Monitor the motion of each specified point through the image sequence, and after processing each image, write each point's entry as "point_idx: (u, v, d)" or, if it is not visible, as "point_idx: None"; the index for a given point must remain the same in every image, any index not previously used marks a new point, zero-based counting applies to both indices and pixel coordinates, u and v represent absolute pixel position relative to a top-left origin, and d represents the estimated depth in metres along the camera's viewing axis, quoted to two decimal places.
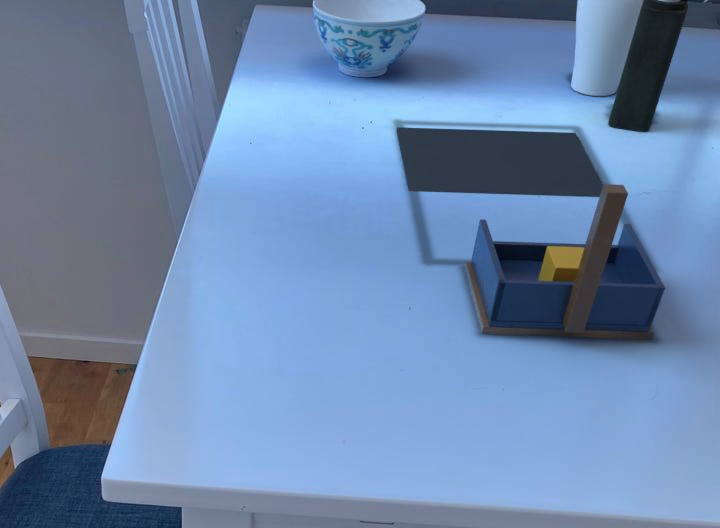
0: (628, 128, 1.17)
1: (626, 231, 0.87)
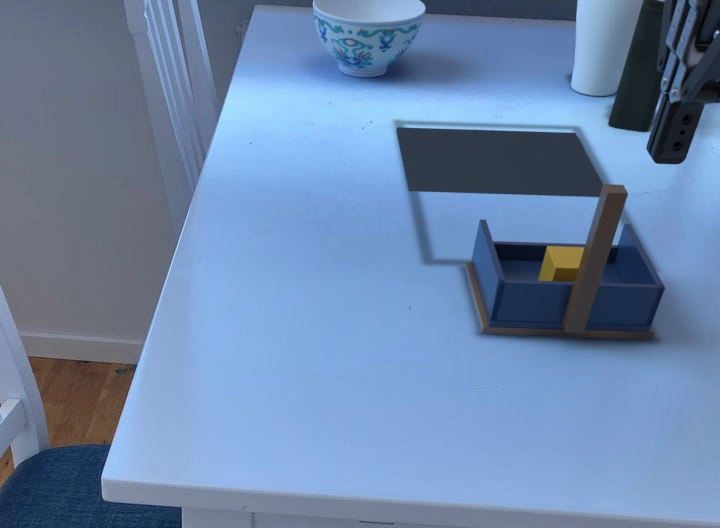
0: (628, 128, 1.17)
1: (626, 231, 0.87)
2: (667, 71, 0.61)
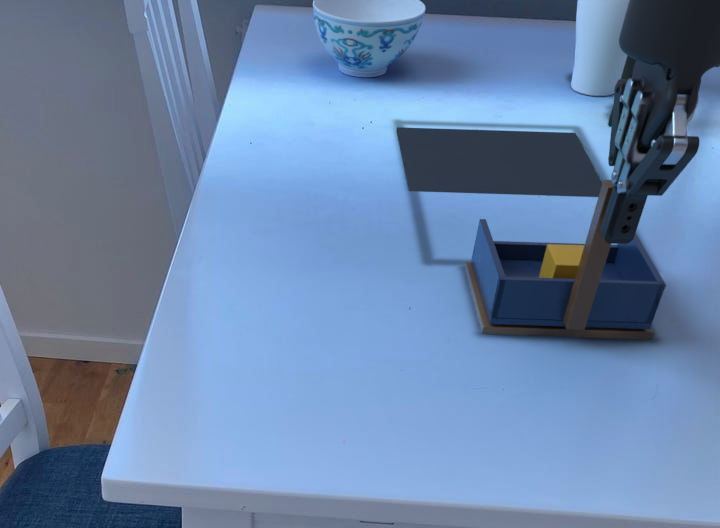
0: None
1: None
2: (616, 167, 0.69)
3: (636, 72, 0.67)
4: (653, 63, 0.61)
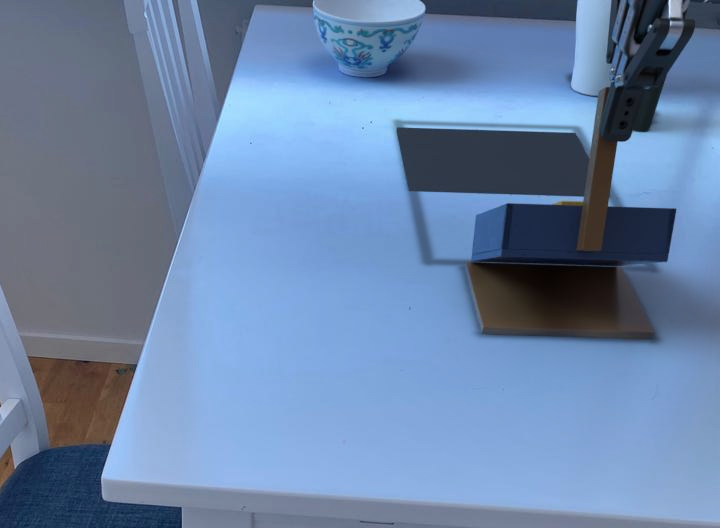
0: None
1: None
2: (614, 62, 0.71)
3: None
4: None
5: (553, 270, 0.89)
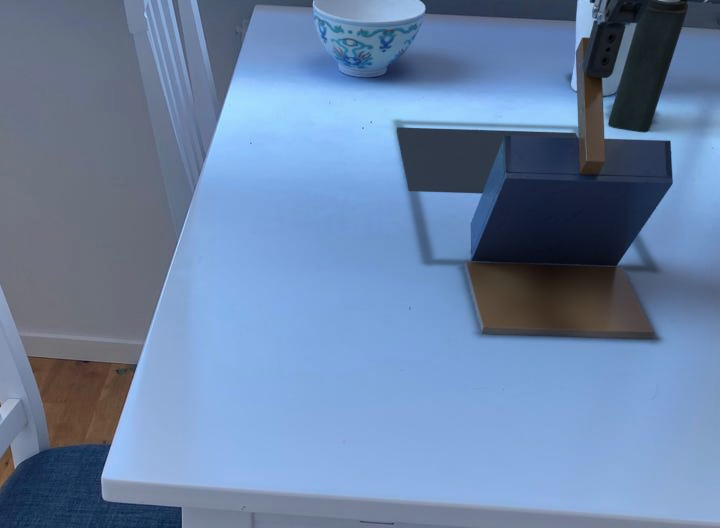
0: (628, 128, 1.17)
1: None
2: (596, 1, 0.75)
3: None
4: None
5: (553, 270, 0.89)
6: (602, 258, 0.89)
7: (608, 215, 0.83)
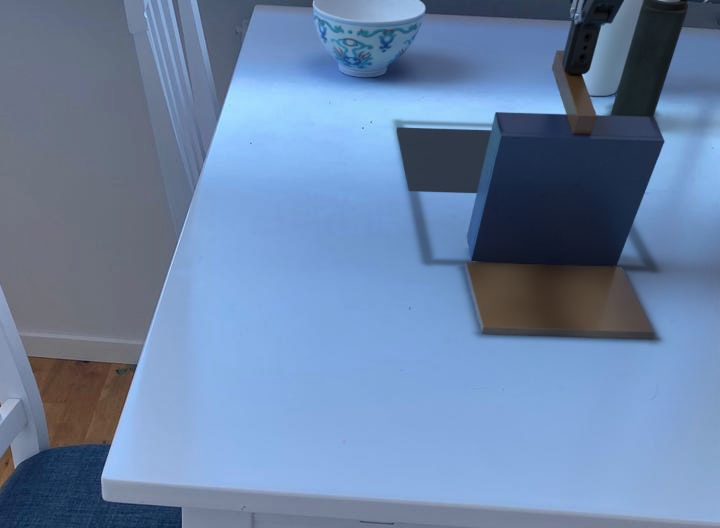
0: None
1: None
2: (574, 2, 0.81)
3: None
4: None
5: (553, 270, 0.89)
6: (601, 254, 0.89)
7: (604, 189, 0.84)
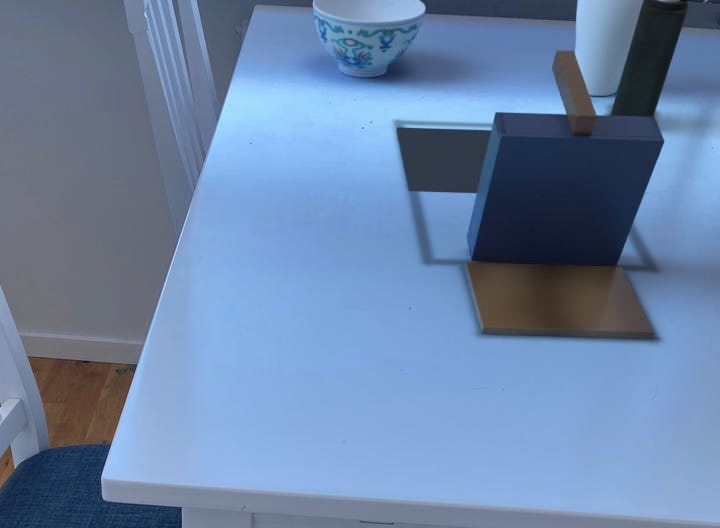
0: None
1: None
2: None
3: None
4: None
5: (553, 270, 0.89)
6: (601, 254, 0.89)
7: (604, 189, 0.84)
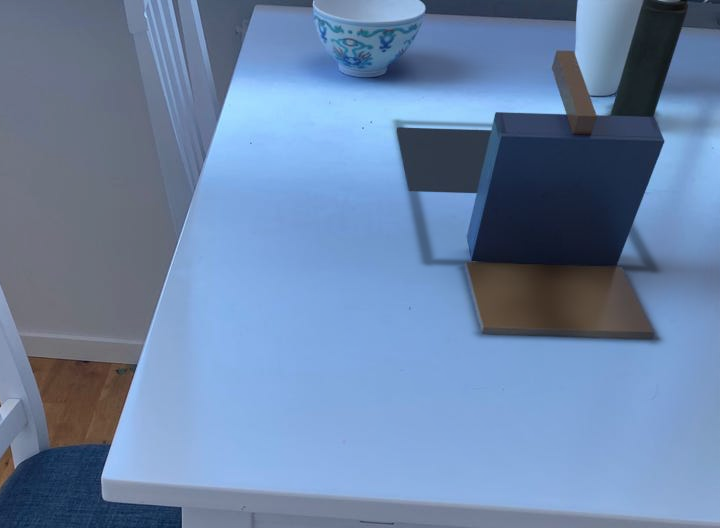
0: None
1: None
2: None
3: None
4: None
5: (553, 270, 0.89)
6: (601, 254, 0.89)
7: (604, 189, 0.84)
